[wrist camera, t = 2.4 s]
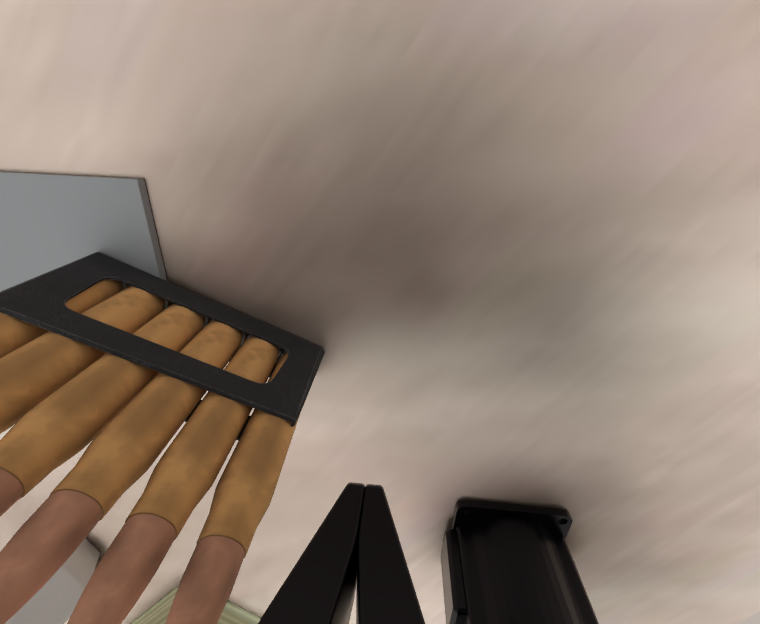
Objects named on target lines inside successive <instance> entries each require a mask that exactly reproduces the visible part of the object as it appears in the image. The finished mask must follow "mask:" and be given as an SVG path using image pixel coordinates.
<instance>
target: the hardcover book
mask: <svg viewBox="0 0 760 624" xmlns="http://www.w3.org/2000/svg"><path fill="white" fill-rule="evenodd" d="M178 587H179V586H178ZM178 587H176V588H175V589H174V590H173V591H171V592H170V593H169V594H168V595H166V596H165V597H164V598H163V599H161V600H160V601H159V602H158V603H156V604H155V605H154V606H153V607H151V608H150V609H149V610H147V611H146V612H145V613H144V614H142V615H141V616H140V617H139V618H137V619H136V620H135V621H134V622H132V623H131V624H165V623H166V620H167V617H168V614H169V611H170V608H171V606H172V603H173V600H174V598H175V595H176V592H177V589H178ZM260 619H261V618H260V617H258V616H256V615H254V614H252V613H250V612H248V611H246V610H244V609H242V608H240V607H239V606H237V605H235V604H233V603H231V602H229V601H227V603H226V605H225V607H224V609H223V612H222V614H221V616H220V618H219V621H218V623H217V624H258V622H259V621H260Z"/></svg>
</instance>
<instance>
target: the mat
mask: <svg viewBox="0 0 760 624" xmlns="http://www.w3.org/2000/svg"><path fill="white" fill-rule="evenodd" d="M95 252H100V253H102V254H105V255H107V256H109V257H112V258H114V259H116V260H119V261H121V262H123V263H126V264H128V265H130V266H133V267H135V268H138V269H140V270H142V271H145V272H147V273H149V274H152V275H154V276H156V277H159V278H161V279H163V280H166V281H167V278H166V273H165V269H164V264H163V260H162V256H161V251H160V247H159V242H158V238H157V234H156V229H155V225H154V221H153V216H152V212H151V207H150V203H149V199H148V194H147V190H146V185H145V181H144V179H139V178H120V177H101V176H82V175H63V174H44V173H25V172H7V171H0V292H1V291H3V290H6V289H8V288H10V287H13V286H15V285H18V284H20V283H23V282H25V281H27V280H30V279H32V278H35V277H37V276H40V275H42V274H44V273H47V272H49V271H52V270H54V269H57V268H59V267H61V266H64V265H66V264H69V263H71V262H74V261H76V260H78V259H81V258H83V257H86V256H88V255H91V254H93V253H95Z"/></svg>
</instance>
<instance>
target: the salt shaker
mask: <svg viewBox="0 0 760 624" xmlns="http://www.w3.org/2000/svg"><path fill="white" fill-rule="evenodd" d="M99 555H100V552H99V551H98V550H97V549H96V548H95V547H94V546H93V545H92V544H91V543H90V542H89V541H88V540H87V539H86V538H85V539H84V540H83V542H82V543H81V544H80V545H79V547H78V548H77V549H76V550H75V552H74V553H73V554H72V555H71V556H70V557H69V558H68V560H67V561H66V562H65V563H64V564H63V565H62V566H61V567H60V568H59V570H58V571H57V572H56V573H55V574H54V575H53V576H52V577H51V578H50V579H49V581H48V582H47V583H46V584H45V585H44V586H43V587H42V588H41V589H40V590H39V591H38V592H37V593H36V594H35V595H34V596H33V597H32V598H31V599H30V600H29V601H28V602H27V603H26V604H25V605H24V606H23V607H22V608H21V609H20V610H19V611H18V612H17V613H16V614H15V615H13V616H12V617H11V618H10V619H9V620H8V621H7V622H6V623H5V624H64V623H65V622H66V621H67V620H68V619H69V618H70V617H71V615H72V612H73V610H74V608H75V606H76V604H77V602H78V600H79V598H80V596H81V594H82V592H83V591H84V589H85V587H86V585H87V584H88V582H89V580H90V578H91V576H92V575H93V573H94V570H95V567H96V564H97V561H98V558H99Z"/></svg>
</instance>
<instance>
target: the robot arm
mask: <svg viewBox="0 0 760 624" xmlns="http://www.w3.org/2000/svg"><path fill="white" fill-rule="evenodd" d="M571 524H572V519H571V516H570V514H569V512H568V511H567V510H564V509H554V508H544V507H533V506H522V505H511V504H501V503H490V502H479V501H468V500H462V501H459V502H458V503H457V504H456V507H455V512H454V517H453V522H452V527H451V529H448V530H447V531H446V532H445V537H444V542H443V547H442V553H441V565H442V577H443V589H444V602H445V614H446V624H599V623H598V621H597V618H596V616H595V613H594V611H593V608H592V606H591V603H590V601H589V598H588V596H587V593H586V591H585V588H584V586H583V583H582V581H581V578H580V576H579V573H578V571H577V568H576V566H575V563H574V561H573V558H572V556H571V553H570V551H569V548H568V546H567V543H566V541H565V538H566V536H567V533H568V531H569V528H570V526H571ZM356 584H357V599H356V624H425V622H424V618H423V615H422V612H421V609H420V605H419V602H418V599H417V596H416V592H415V589H414V586H413V583H412V579H411V576H410V573H409V570H408V567H407V563H406V560H405V557H404V554H403V550H402V547H401V544H400V541H399V537H398V534H397V531H396V528H395V524H394V521H393V518H392V515H391V512H390V508H389V505H388V502H387V499H386V495H385V492H384V489H383V487H382V486H381V485H372V484H368V485H366V486H365V485H364V484H362V483H348V484H347V486H346V487H345V489H344V490H343V492H342V493H341V495H340V496H339V498H338V499H337V501H336V503H335V504H334V506H333V507H332V509H331V510H330V512H329V513H328V515H327V517H326V518H325V520H324V521H323V523H322V524H321V526H320V527H319V529H318V531H317V532H316V534H315V535H314V537H313V538H312V540H311V541H310V543H309V545H308V546H307V548H306V549H305V551H304V552H303V554H302V556H301V557H300V559H299V560H298V562H297V563H296V565H295V566H294V568H293V570H292V571H291V573H290V574H289V576H288V577H287V579H286V580H285V582H284V584H283V585H282V587H281V588H280V590H279V591H278V593H277V594H276V596H275V598H274V599H273V601H272V602H271V604H270V605H269V607H268V608H267V610H266V612H265V613H264V615H263V616H262V618H261V619H260V621H259V622H258V624H349V620H350V615H351V611H352V606H353V601H354V596H355V590H356Z"/></svg>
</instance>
